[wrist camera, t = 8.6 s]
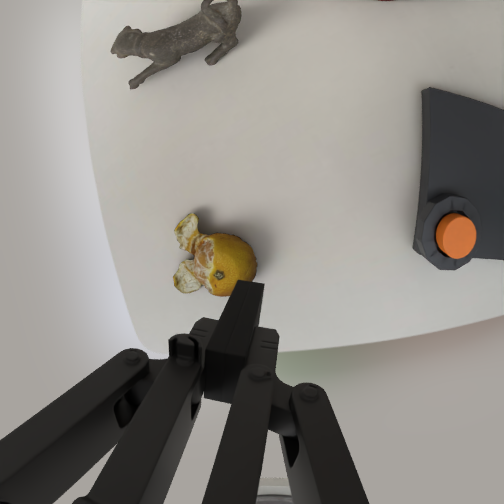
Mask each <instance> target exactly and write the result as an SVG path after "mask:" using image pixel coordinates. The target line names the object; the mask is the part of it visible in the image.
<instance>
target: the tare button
mask: <svg viewBox="0 0 504 504" xmlns="http://www.w3.org/2000/svg"><path fill="white" fill-rule="evenodd" d="M436 241H437V244H438V246H439V248H440V249H441V250H442V251H443V252H445V253H446V254H447V255H448V256H450V257H451V258H455V259H459V258H463V257H465V256H466V255H468V254H469V253H470V252H471V250H472V249H473V247H474V245H475V241H476V229H475V226H474V224H473V222H472V221H471V220H470V219H469V218H467V217H465V216H462V215H460V214H458V213H451V214H448V215H446V216H445V217H444V218H443V219H442V220H441V221H440V223H439V224H438V227H437V230H436Z"/></svg>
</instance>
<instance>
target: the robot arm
mask: <svg viewBox="0 0 504 504" xmlns="http://www.w3.org/2000/svg"><path fill="white" fill-rule="evenodd" d="M263 291H264V284H263V283H257V282H250V281H244V280H237V282H236V285H235V287H234V289H233V291H232V293H231V295H230V297H229V300H228V302H227V304H226V306H225V308H224V310H223V312H222V315H221V317H220V319H219V320H214V319H209V318H204V317H203V318H201V319H200V320H198V321H197V322H196V323H195V324H194V326H193V328H192V330H191V331H190V333H189V334H177V335H174V336H172V337H171V338H170V339H169V357H168V359H162V360H161V359H160V360H158V359H149V358H148V355H147V353H145V352H144V351H142V350H140V349H133V348H130V349H125V350H123V351H121V352H120V353H118V354H117V355H116V356H114V357H113V358H112V359H110V360H109V361H107V362H106V363H105V364H103V365H102V366H101V367H99V368H98V369H96V370H95V371H94V372H93V373H91V374H90V375H88V376H87V377H86V378H84V379H83V380H82V381H80V382H79V383H78V384H76V385H75V386H73V387H72V388H71V389H70V390H68V391H67V392H66V393H64V394H63V395H61V396H60V397H59V398H57V399H56V400H54V401H53V402H52V403H50V404H49V405H48V406H47V407H45V408H44V409H42V410H41V411H40V412H38V413H37V414H35V415H34V416H33V417H31V418H30V419H29V420H27V421H26V422H25V423H23V424H22V425H20V426H19V427H18V428H16V429H15V430H14V431H12V432H11V433H10V434H8V435H7V436H6V437H4V438H3V439H1V440H0V504H53V503H54V502H55V501H56V500H57V499H58V498H59V497H61V496H62V495H63V494H64V493H65V492H66V491H67V490H68V489H69V488H70V487H72V486H73V485H74V484H75V483H76V482H77V481H78V480H79V479H80V478H81V477H82V476H83V475H84V474H85V473H86V472H87V471H89V470H90V469H91V468H92V467H93V466H94V465H95V464H96V463H97V462H98V461H99V460H100V459H101V458H102V457H103V456H104V455H105V454H106V453H107V452H109V451H110V449H112V448H113V447H114V446H115V445H116V444H117V445H116V447H115V449H114V450H113V452H112V454H111V455H110V457H109V459H108V461H107V462H106V464H105V466H104V468H103V469H102V471H101V473H100V475H99V476H98V478H97V480H96V481H95V483H94V485H93V487H92V489H91V490H90V492H89V493H88V495H86V496H84V497H79V498H77V499H76V500H74V502H73V503H72V504H163V503H164V500H165V498H166V495H167V493H168V490H169V488H170V485H171V482H172V480H173V477H174V475H175V472H176V470H177V467H178V465H179V462H180V459H181V457H182V454H183V451H184V449H185V446H186V444H187V441H188V439H189V436H190V434H191V431H192V428H193V425H194V423H195V420H196V418H197V415H198V413H199V410H200V407H201V397H202V395H203V392H204V398H207V399H211V400H215V401H220V402H225V403H230V404H231V407H230V411H229V414H228V418H227V421H226V425H225V428H224V432H223V435H222V439H221V442H220V445H219V449H218V452H217V455H216V459H215V462H214V465H213V469H212V472H211V475H210V479H209V482H208V485H207V488H206V492H205V495H204V498H203V501H202V504H369V502H368V499H367V497H366V494H365V491H364V489H363V486H362V483H361V481H360V478H359V476H358V473H357V470H356V468H355V465H354V462H353V460H352V457H351V455H350V452H349V450H348V447H347V445H346V442H345V439H344V437H343V434H342V432H341V429H340V427H339V424H338V422H337V419H336V417H335V414H334V411H333V409H332V407H331V404H330V401H329V399H328V396H327V394H326V392H325V391H324V389H323V388H321V387H320V386H318V385H316V384H313V383H301V384H298V385H296V386H295V387H292V386H289V385H287V384H285V383H283V382H282V381H280V380H279V378H278V377H277V375H276V373H275V368H276V360H277V352H278V344H279V335H278V333H277V331H276V330H275V329H269V328H263V327H258V325H259V319H260V312H261V305H262V298H263ZM268 430H271V431H273V432H275V433H278V434H279V438H280V443H281V448H282V453H283V457H284V462H285V466H286V472H287V476H288V481H289V486H290V491H291V495H292V496H290V495H278V494H266V495H257V493H258V488H259V482H260V476H261V470H262V464H263V458H264V452H265V445H266V439H267V432H268Z"/></svg>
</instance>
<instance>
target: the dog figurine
mask: <svg viewBox="0 0 504 504" xmlns="http://www.w3.org/2000/svg"><path fill="white" fill-rule="evenodd" d="M212 1H213V0H204V1H203V2H202V4H201V11H200V12H199V13H198V14H196V15H195V16H193V17H191V18H190V19H188V20H186V21H184V22H182V23H180V24H178V25H175V26H172V27H169V28H166V29H162V30H158V31H154V32H151V33H148V32H145V33H142V32H141V30H139V29H131V27H130V26H126V27H125V28H124V29H123V30H122V32H120V33H119V34H118V36H117V38H116V40H115V42H114V44H113V46H112V48H111V53H112V54H117V57H118V58H125V57H127V56H129V55H133V56H139V57H141V58H149V59H151V60H152V61H154V62H153V63H152V64H151V65H150V66H149V67H147V68H146V69H145V70H144V71H143V72H141V73H140V74H139V75H137V76H136V77H135V78H134V79H131V80H130V81H129V85H130V89H136V88H137V87H138V86H139V84H142V83H143V82H144V80H145V79H146V78H147V77H149V76H151V75H153V74H155V73H156V72H158V71H161V70H163V69H166V68H168V67H170V66H172V65H174V64H176V63H177V62H178V61H180V59H181V56H182V55H185V54H187V53H191V52H194V51H197V50H198V49H200V48H202V47H203V46H205V45H206V44H208V43H209V42H211V41H213V42H217V43H221V44H220V45H219V46H218V47H217V48H216V49H215V50H214V51H213V52H212V53H211V54H210V55H208V56H207V57H206V58H205V61H206V62H207V64H208V65H214V64H216V62H217V61H218V59H219V58H221V57H223V56H224V55H225V54H226V52H227V51H228V50H230V49H231V48H233V47H235V46H236V45H237V44H238V39H237V38H236V34H235V32H236V30H237V28H238V25H239V23H240V20H241V8H240V6H239V5H238V1H237V0H227V2H222V3H216V4H212V5H210V3H211V2H212Z"/></svg>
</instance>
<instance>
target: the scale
mask: <svg viewBox="0 0 504 504" xmlns="http://www.w3.org/2000/svg"><path fill="white" fill-rule="evenodd" d="M451 213H458V214H460V215H462V216H465V217H467V218H469V219H470V220H471V221H472V222H473V224H474V226H475V229H476V241H475V245H474V247H473V249H472V250H471V252H470V253H469V254H468V255H466V256H465V257H463V258H459V259H455V258H451V257H450V256H448V255H447V254H446V253H445V252H443V251H442V250H441V249H440V248H439V246H438V244H437V241H436V230H437V227H438V224H439V223H440V221H441V220H442V219H443V218H444V217H445V216H446V215H448V214H451ZM413 249H414V250H415V251H416V252H417V253H418V254H419V255H423V256H424V257H425V258H426V259H427V260H428V261H430V262H431V263H432V264H433V265H434V266H436V267H437V268H438V269H440V270H456V269H458V268H460V267H461V266H463V265H465V264H466V263H468V262H469V261H470V260H471V259H472V258H482V259H497V260H504V110H502V109H500V108H497V107H494V106H492V105H489V104H486V103H483V102H480V101H477V100H474V99H471V98H467V97H464V96H461V95H457V94H454V93H450V92H447V91H443V90H439V89H435V88H431V87H429V88H427V89H425V90H422V163H421V179H420V192H419V203H418V212H417V220H416V228H415V235H414V242H413Z"/></svg>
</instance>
